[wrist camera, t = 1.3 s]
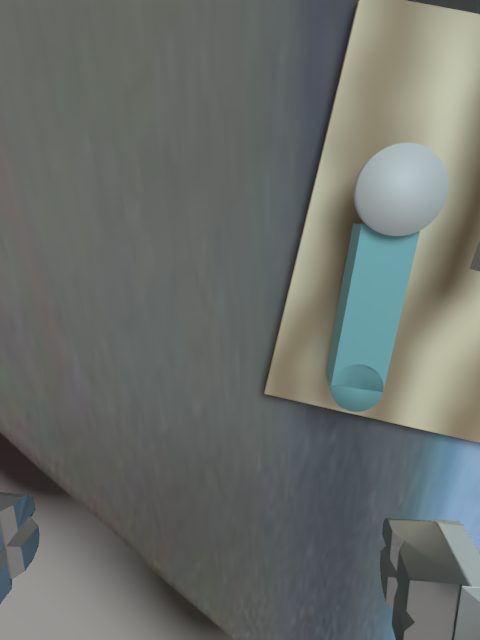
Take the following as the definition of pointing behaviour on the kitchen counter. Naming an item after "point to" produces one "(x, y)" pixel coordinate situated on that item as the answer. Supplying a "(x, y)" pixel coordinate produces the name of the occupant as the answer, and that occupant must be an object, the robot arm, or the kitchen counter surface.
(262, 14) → the kitchen counter surface
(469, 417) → the base board
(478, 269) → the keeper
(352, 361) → the lever with ball knob
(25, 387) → the kitchen counter surface
